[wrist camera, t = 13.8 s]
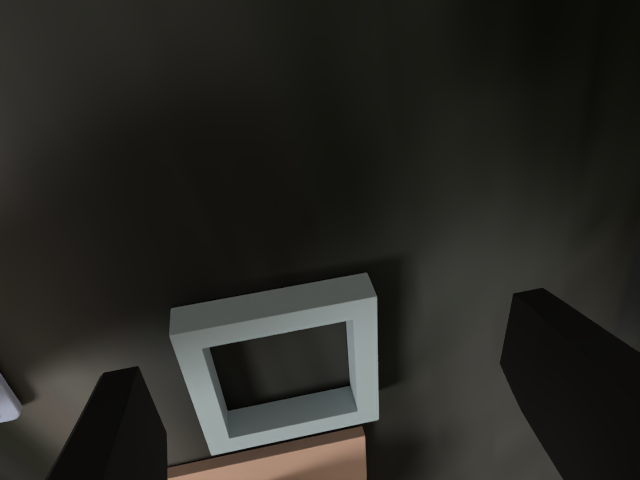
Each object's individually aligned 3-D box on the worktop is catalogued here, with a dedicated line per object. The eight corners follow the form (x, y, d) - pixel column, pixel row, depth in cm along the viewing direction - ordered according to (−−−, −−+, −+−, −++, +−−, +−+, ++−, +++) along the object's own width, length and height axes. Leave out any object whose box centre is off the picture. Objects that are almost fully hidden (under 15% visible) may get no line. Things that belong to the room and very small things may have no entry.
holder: (210, 427, 25) (211, 455, 24) (170, 308, 21) (169, 335, 19) (370, 394, 26) (378, 419, 25) (366, 272, 22) (377, 296, 20)
